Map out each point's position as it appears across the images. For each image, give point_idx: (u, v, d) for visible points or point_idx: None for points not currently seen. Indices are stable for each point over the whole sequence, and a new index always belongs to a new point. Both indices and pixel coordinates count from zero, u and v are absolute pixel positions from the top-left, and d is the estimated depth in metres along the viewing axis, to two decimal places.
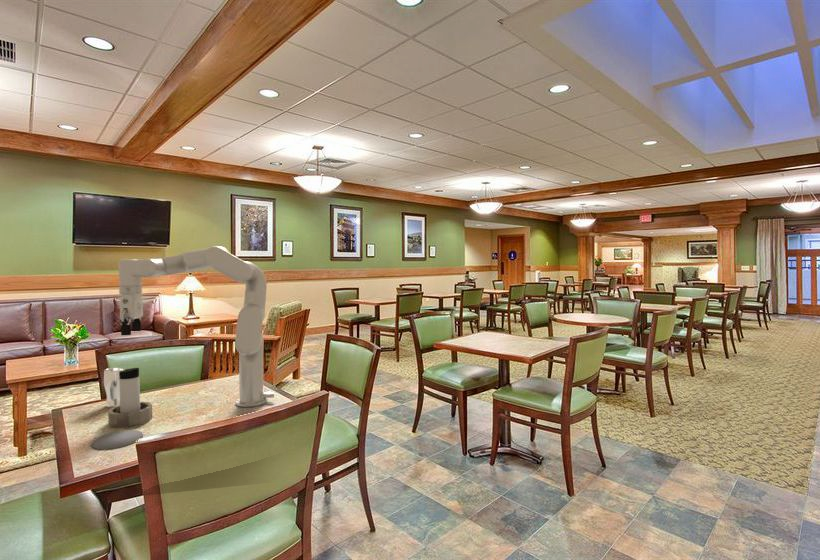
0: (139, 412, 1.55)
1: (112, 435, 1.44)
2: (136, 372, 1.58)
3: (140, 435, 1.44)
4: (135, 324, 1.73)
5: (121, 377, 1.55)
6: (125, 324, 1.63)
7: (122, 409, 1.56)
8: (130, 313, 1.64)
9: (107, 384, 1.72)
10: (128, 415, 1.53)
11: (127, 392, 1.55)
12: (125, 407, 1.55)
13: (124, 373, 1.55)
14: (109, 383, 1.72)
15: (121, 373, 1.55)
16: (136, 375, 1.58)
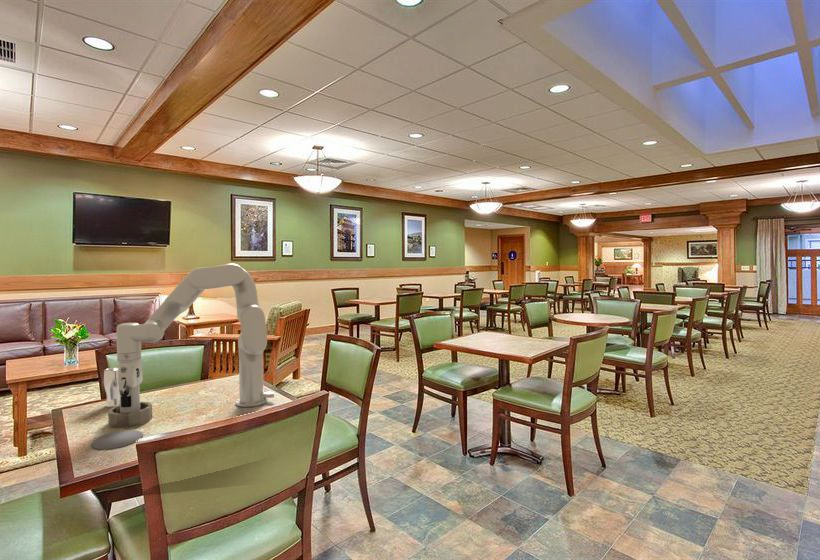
0: (139, 412, 1.55)
1: (112, 435, 1.44)
2: None
3: (140, 435, 1.44)
4: None
5: None
6: (125, 396, 1.54)
7: (122, 409, 1.56)
8: (129, 382, 1.54)
9: (107, 384, 1.72)
10: (128, 415, 1.53)
11: None
12: (125, 407, 1.55)
13: None
14: (109, 383, 1.72)
15: None
16: None
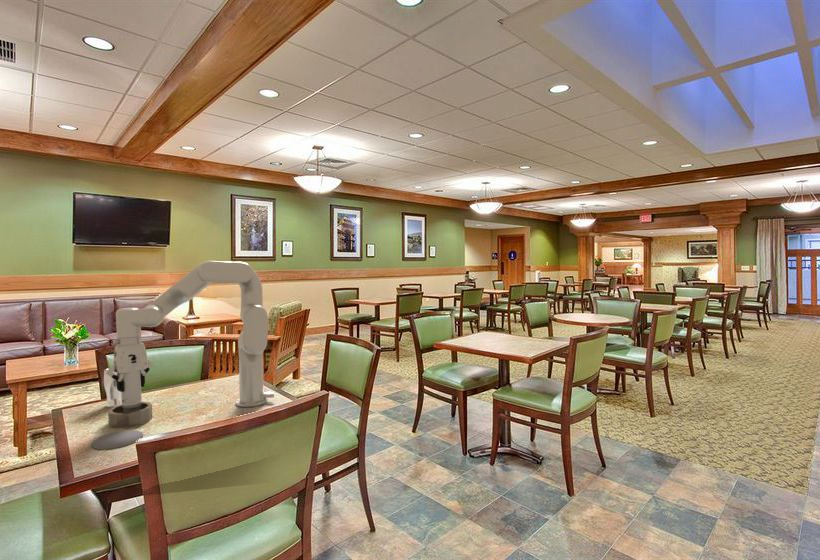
0: (139, 412, 1.55)
1: (112, 435, 1.44)
2: None
3: (140, 435, 1.44)
4: None
5: None
6: (117, 381, 1.54)
7: (121, 393, 1.57)
8: (117, 367, 1.53)
9: (107, 384, 1.72)
10: (128, 415, 1.53)
11: None
12: None
13: None
14: (109, 383, 1.72)
15: None
16: None
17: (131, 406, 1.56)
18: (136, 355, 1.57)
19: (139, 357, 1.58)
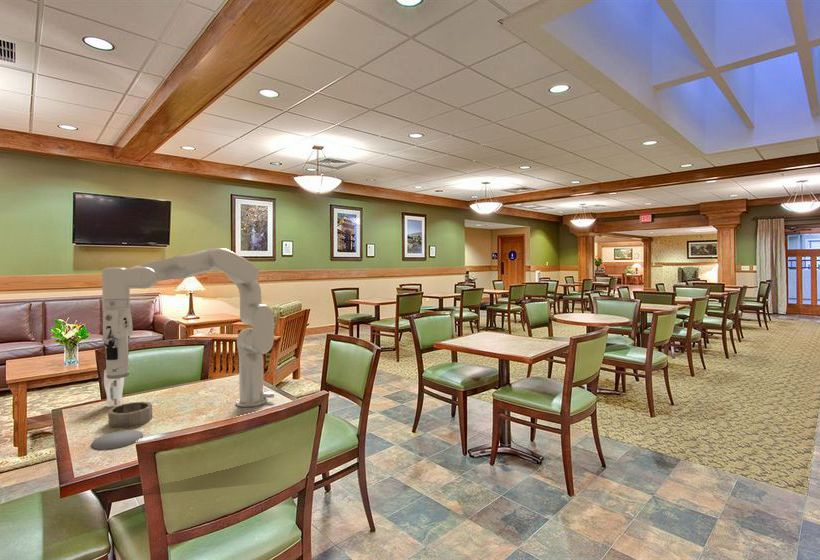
0: (139, 412, 1.55)
1: (112, 435, 1.44)
2: None
3: (140, 435, 1.44)
4: None
5: None
6: (111, 347, 1.38)
7: (108, 362, 1.40)
8: (114, 332, 1.38)
9: (107, 384, 1.72)
10: (128, 415, 1.53)
11: None
12: (111, 360, 1.40)
13: None
14: (109, 383, 1.72)
15: None
16: None
17: (124, 375, 1.42)
18: (127, 319, 1.44)
19: (128, 321, 1.45)
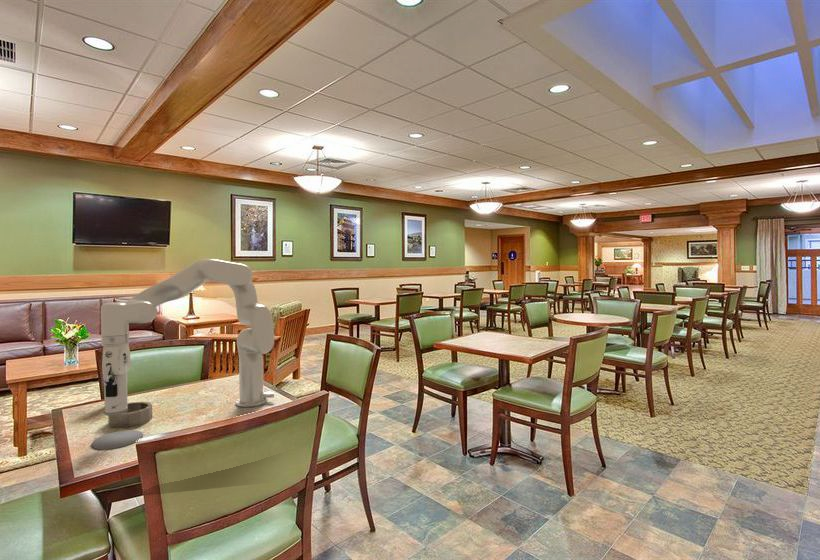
0: (139, 412, 1.55)
1: (112, 435, 1.44)
2: None
3: (140, 435, 1.44)
4: None
5: None
6: (110, 385, 1.36)
7: (107, 399, 1.38)
8: (114, 369, 1.36)
9: None
10: (128, 415, 1.53)
11: None
12: (110, 397, 1.38)
13: None
14: None
15: None
16: None
17: (123, 411, 1.41)
18: (126, 354, 1.42)
19: (127, 356, 1.43)
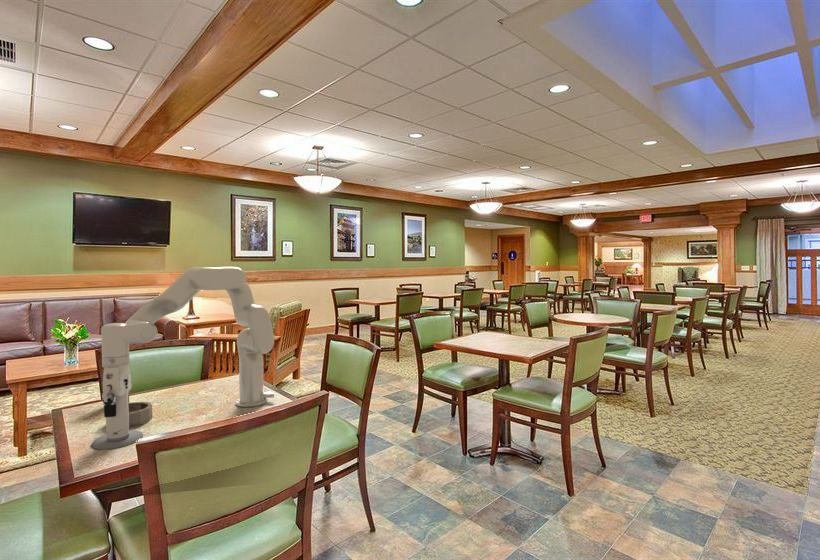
0: (139, 412, 1.55)
1: None
2: None
3: (140, 435, 1.44)
4: None
5: None
6: (109, 404, 1.35)
7: (109, 425, 1.39)
8: (115, 390, 1.36)
9: None
10: None
11: None
12: (112, 423, 1.39)
13: None
14: None
15: None
16: None
17: (125, 437, 1.41)
18: (127, 375, 1.42)
19: (128, 377, 1.43)
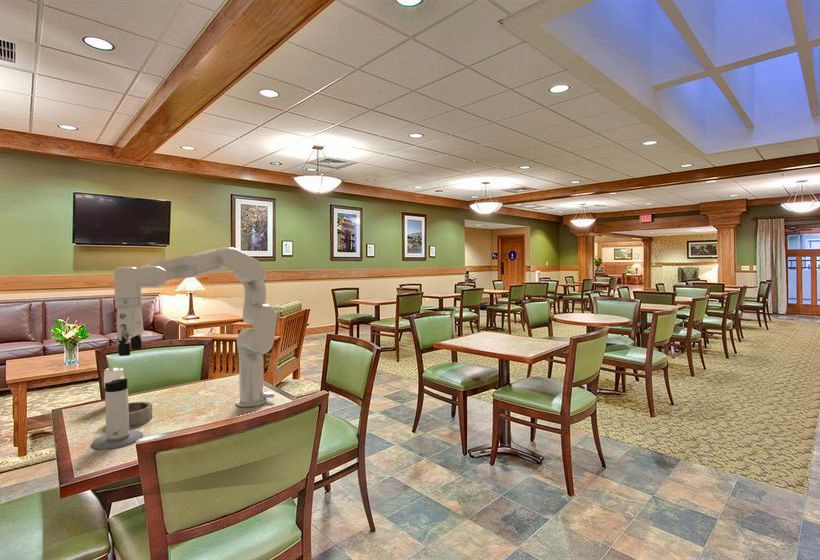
0: (139, 412, 1.55)
1: None
2: (124, 384, 1.41)
3: (140, 435, 1.44)
4: (134, 341, 1.50)
5: (107, 390, 1.38)
6: (123, 343, 1.40)
7: (108, 426, 1.39)
8: (129, 330, 1.41)
9: None
10: None
11: (114, 407, 1.38)
12: (112, 423, 1.39)
13: (110, 385, 1.38)
14: None
15: (107, 385, 1.38)
16: (124, 387, 1.41)
17: (125, 437, 1.41)
18: (139, 317, 1.47)
19: (140, 319, 1.48)
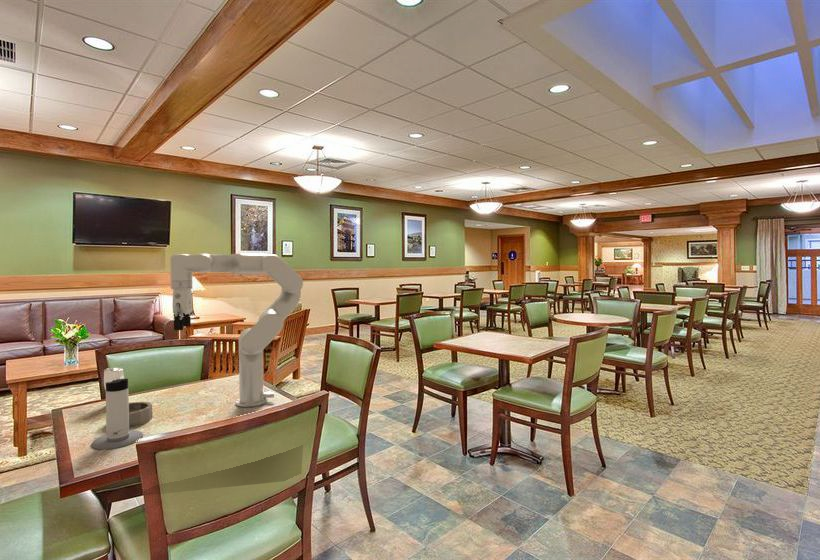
0: (139, 412, 1.55)
1: None
2: (125, 383, 1.41)
3: (140, 435, 1.44)
4: (185, 319, 1.73)
5: (108, 389, 1.39)
6: (178, 319, 1.62)
7: (109, 426, 1.39)
8: (182, 308, 1.64)
9: None
10: None
11: (114, 407, 1.39)
12: (112, 423, 1.39)
13: (111, 385, 1.38)
14: None
15: (108, 385, 1.38)
16: (125, 387, 1.41)
17: (125, 437, 1.41)
18: (190, 298, 1.70)
19: (191, 300, 1.71)
